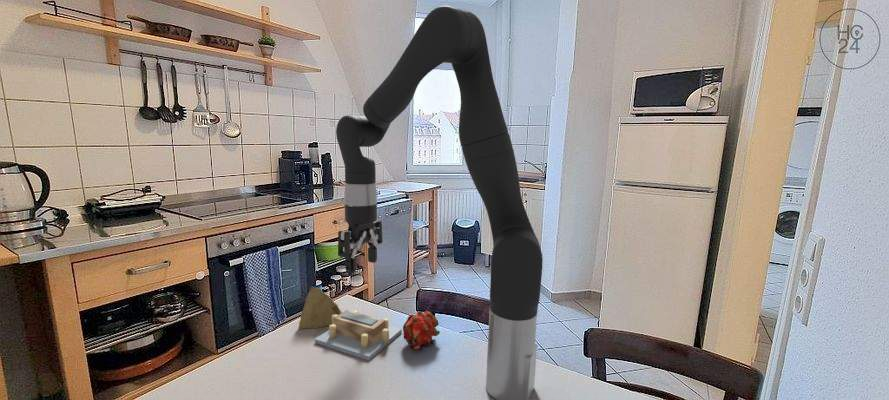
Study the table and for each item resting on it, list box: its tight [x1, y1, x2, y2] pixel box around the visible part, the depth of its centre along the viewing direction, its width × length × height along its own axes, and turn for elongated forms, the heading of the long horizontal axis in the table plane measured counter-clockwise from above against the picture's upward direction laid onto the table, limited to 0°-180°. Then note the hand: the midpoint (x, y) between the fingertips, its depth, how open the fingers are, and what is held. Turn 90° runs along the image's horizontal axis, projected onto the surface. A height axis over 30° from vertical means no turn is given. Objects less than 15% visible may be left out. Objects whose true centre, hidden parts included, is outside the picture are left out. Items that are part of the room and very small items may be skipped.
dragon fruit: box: [402, 310, 441, 351], centre depth 93 cm, size 8×8×12 cm
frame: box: [334, 309, 385, 345], centre depth 95 cm, size 12×5×4 cm, turn 65°
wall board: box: [314, 309, 403, 361], centre depth 96 cm, size 17×14×4 cm
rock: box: [297, 286, 343, 330], centre depth 101 cm, size 11×9×10 cm
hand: (362, 267), depth 93 cm, fingers open, 8 cm apart
